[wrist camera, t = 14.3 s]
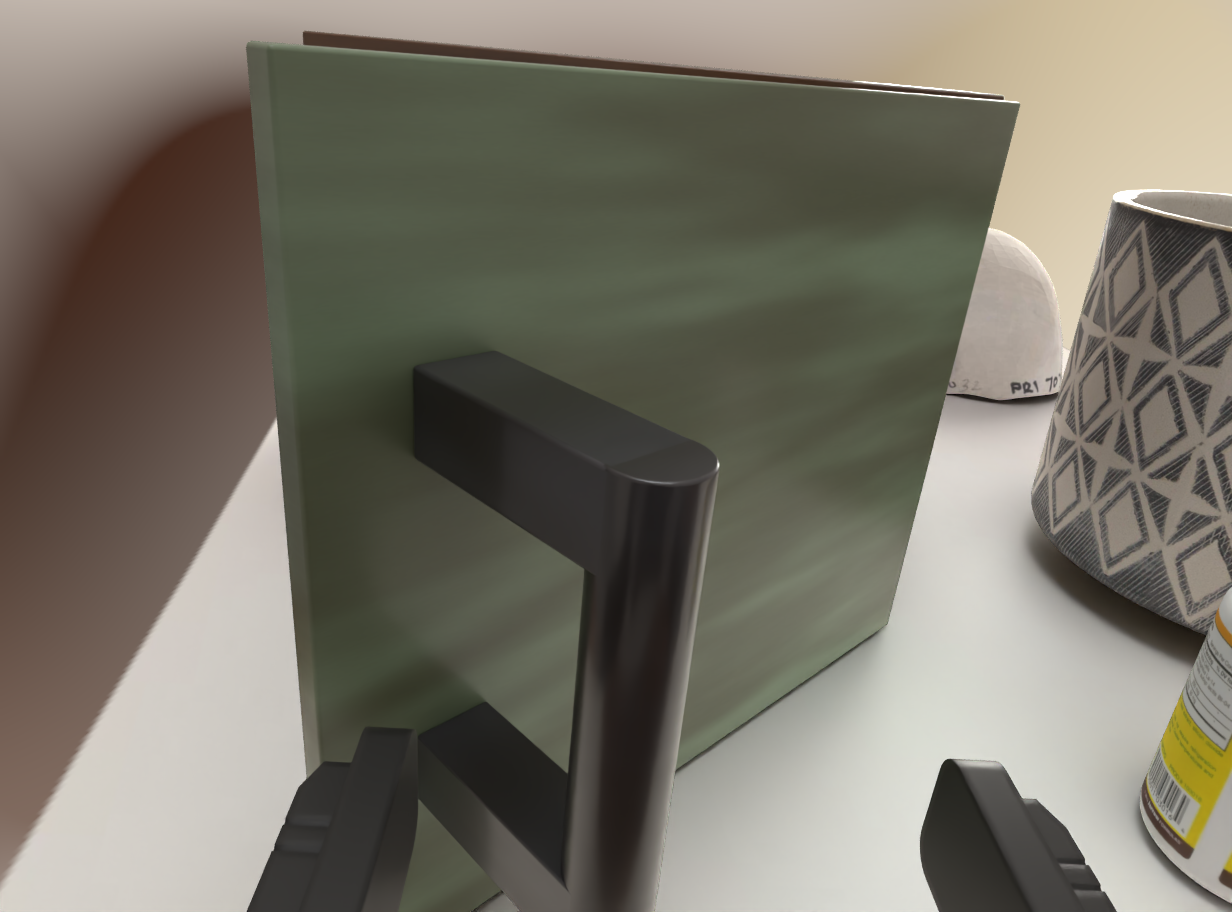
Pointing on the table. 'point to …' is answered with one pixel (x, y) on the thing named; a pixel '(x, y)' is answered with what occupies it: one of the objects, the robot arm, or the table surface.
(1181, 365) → the planter
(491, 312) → the cupboard door
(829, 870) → the table surface
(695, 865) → the table surface
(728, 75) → the cupboard
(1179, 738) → the supplement bottle
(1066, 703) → the table surface
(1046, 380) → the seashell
